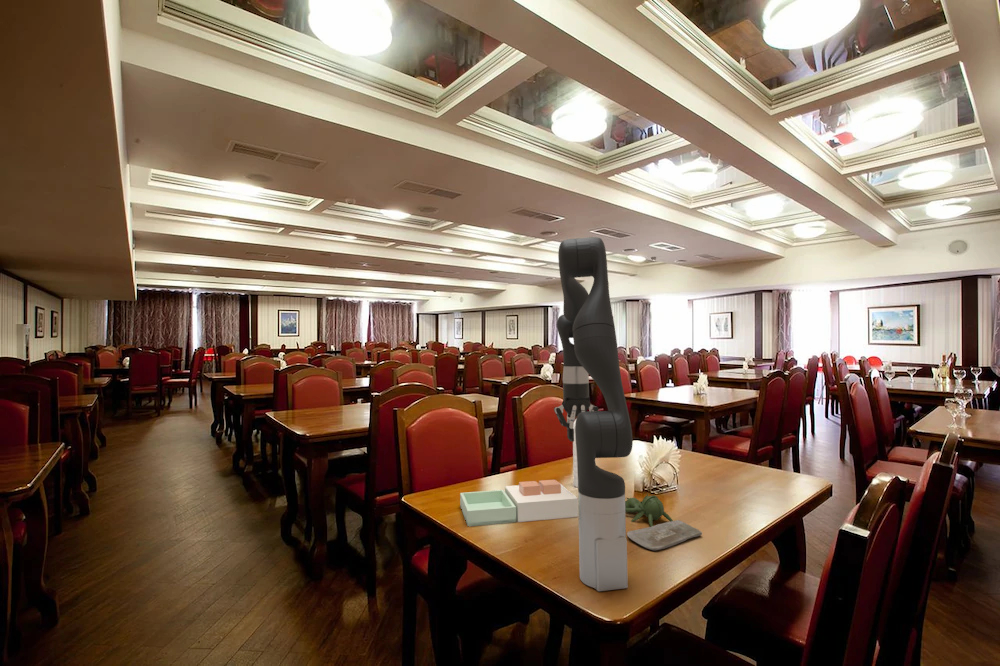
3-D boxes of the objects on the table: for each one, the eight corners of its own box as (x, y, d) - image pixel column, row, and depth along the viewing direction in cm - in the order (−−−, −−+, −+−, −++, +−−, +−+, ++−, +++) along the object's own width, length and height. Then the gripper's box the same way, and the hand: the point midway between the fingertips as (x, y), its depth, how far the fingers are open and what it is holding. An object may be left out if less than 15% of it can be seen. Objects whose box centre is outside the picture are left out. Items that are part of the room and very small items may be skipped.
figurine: (628, 487, 141) (677, 493, 124) (631, 514, 139) (681, 524, 123) (598, 492, 135) (645, 500, 119) (602, 521, 134) (650, 532, 118)
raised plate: (578, 516, 128) (577, 498, 128) (518, 522, 125) (517, 503, 125) (559, 498, 144) (558, 482, 144) (505, 503, 140) (504, 486, 141)
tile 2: (560, 493, 133) (560, 484, 133) (544, 494, 132) (543, 485, 132) (555, 488, 138) (555, 479, 138) (538, 489, 137) (538, 480, 137)
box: (516, 522, 125) (516, 507, 125) (467, 526, 122) (467, 511, 122) (503, 503, 140) (503, 489, 140) (460, 506, 138) (460, 492, 138)
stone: (652, 550, 105) (621, 530, 113) (652, 562, 105) (621, 541, 114) (708, 528, 113) (674, 512, 122) (707, 540, 114) (674, 522, 122)
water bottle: (596, 487, 155) (595, 411, 156) (580, 489, 153) (578, 412, 154) (582, 480, 163) (581, 408, 164) (566, 482, 161) (565, 409, 162)
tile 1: (540, 494, 132) (540, 485, 132) (523, 496, 131) (523, 487, 131) (535, 489, 137) (535, 480, 137) (519, 490, 136) (519, 482, 136)
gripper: (557, 383, 133) (558, 444, 132) (603, 381, 136) (604, 442, 135) (549, 381, 140) (550, 439, 140) (592, 380, 143) (593, 437, 142)
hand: (576, 440), depth 137 cm, fingers closed
